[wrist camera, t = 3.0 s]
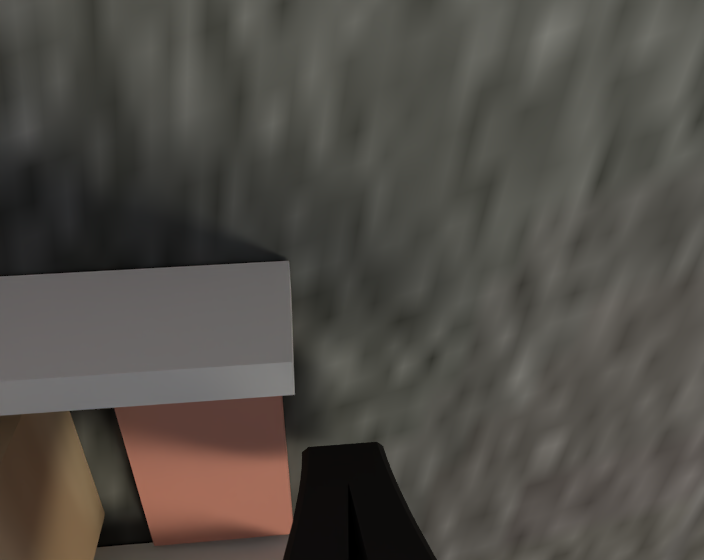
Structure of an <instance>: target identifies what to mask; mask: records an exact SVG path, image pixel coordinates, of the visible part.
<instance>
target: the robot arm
mask: <svg viewBox="0 0 704 560" xmlns="http://www.w3.org/2000/svg"><path fill="white" fill-rule="evenodd" d="M283 560H437V559H436V557H435V556H434V554H433V552H432V550H431V548H430V547H429V545H428V543H427V541H426V539H425V538H424V536H423V534H422V532H421V530H420V529H419V527H418V525H417V523H416V521H415V519H414V517H413V515H412V513H411V512H410V510H409V507H408V505H407V503H406V501H405V499H404V497H403V495H402V493H401V491H400V489H399V486H398V484H397V482H396V480H395V477H394V475H393V473H392V470H391V468H390V465H389V462H388V460H387V457H386V454H385V451H384V448H383V446H382V445H381V444H379V443H378V442H369V443H356V444H343V445H330V446H317V447H308V448H307V449H306V450H304V451H303V452H302V471H301V480H300V487H299V493H298V499H297V503H296V508H295V513H294V518H293V522H292V526H291V530H290V534H289V538H288V542H287V545H286V549H285V553H284V557H283Z"/></svg>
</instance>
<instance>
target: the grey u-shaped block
mask: <svg viewBox="0 0 704 560" xmlns="http://www.w3.org/2000/svg"><path fill="white" fill-rule="evenodd" d="M285 395H295V383H294V356H293V328H292V300H291V281H290V266H289V261H275V262H256V263H238V264H220V265H201V266H183V267H165V268H147V269H128V270H110V271H92V272H73V273H55V274H37V275H19V276H0V416H3V415H17V414H31V413H45V412H59V411H73V410H87V409H102V408H114V409H115V413H116V416H117V420H118V423H119V427H120V430H121V433H122V437H123V440H124V444H125V447H126V451H127V454H128V458H129V461H130V464H131V468H132V471H133V475H134V478H135V482H136V485H137V489H138V492H139V495H140V499H141V502H142V506H143V509H144V513H145V516H146V519H147V523H148V526H149V530H150V533H151V537H152V540H153V543H142V544H131V545H119V546H108V547H97V548H96V552H95V556H94V560H283V557H284V553H285V549H286V545H287V542H288V538H289V534H290V530H291V526H292V522H293V513H292V501H291V490H290V478H289V467H288V455H287V444H286V432H285V421H284V409H283V398H282V396H285Z"/></svg>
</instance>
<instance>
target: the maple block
mask: <svg viewBox="0 0 704 560" xmlns="http://www.w3.org/2000/svg"><path fill="white" fill-rule="evenodd" d="M104 516H105V513H104V510H103V507H102V504H101V501H100V498H99V495H98V493H97V490H96V487H95V484H94V481H93V478H92V475H91V472H90V469H89V466H88V464H87V461H86V458H85V455H84V452H83V449H82V446H81V443H80V440H79V437H78V435H77V432H76V429H75V426H74V423H73V420H72V417H71V414H70V411H59V412H45V413H31V414H17V415H3V416H0V560H94V556H95V552H96V548H97V544H98V540H99V536H100V532H101V528H102V524H103V520H104Z"/></svg>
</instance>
